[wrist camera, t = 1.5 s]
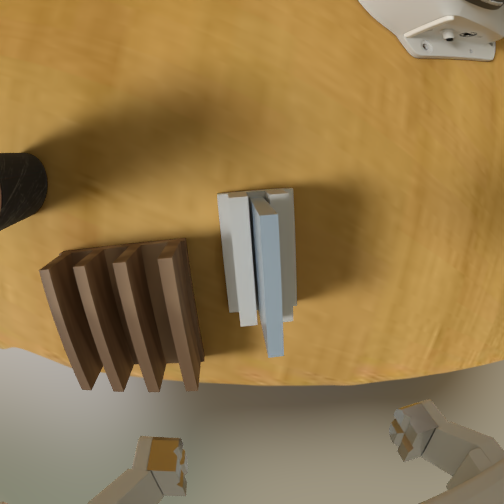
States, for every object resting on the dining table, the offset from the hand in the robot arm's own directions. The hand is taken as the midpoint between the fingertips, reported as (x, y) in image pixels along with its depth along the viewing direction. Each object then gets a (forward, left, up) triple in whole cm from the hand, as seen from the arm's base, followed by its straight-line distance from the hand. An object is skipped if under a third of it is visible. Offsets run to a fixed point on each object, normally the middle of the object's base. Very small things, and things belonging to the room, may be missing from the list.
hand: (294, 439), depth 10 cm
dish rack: (+13, +5, -23) cm, 27 cm away
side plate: (-1, 0, -22) cm, 22 cm away
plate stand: (-1, 0, -23) cm, 23 cm away
